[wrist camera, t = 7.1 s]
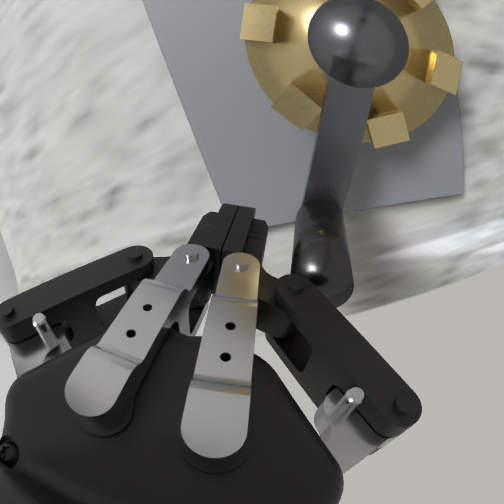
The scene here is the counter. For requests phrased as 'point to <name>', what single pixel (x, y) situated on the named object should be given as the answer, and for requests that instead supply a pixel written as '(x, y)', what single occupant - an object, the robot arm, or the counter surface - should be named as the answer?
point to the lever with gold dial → (346, 100)
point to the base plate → (283, 124)
